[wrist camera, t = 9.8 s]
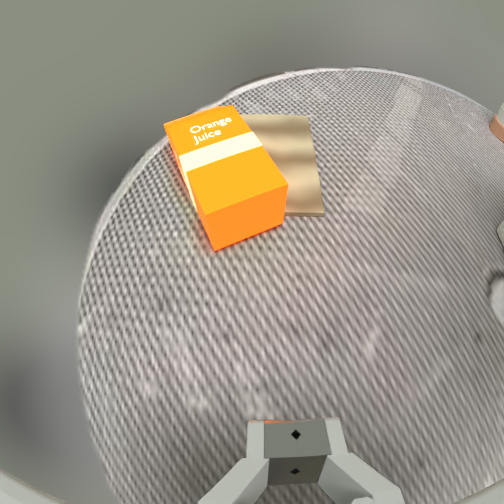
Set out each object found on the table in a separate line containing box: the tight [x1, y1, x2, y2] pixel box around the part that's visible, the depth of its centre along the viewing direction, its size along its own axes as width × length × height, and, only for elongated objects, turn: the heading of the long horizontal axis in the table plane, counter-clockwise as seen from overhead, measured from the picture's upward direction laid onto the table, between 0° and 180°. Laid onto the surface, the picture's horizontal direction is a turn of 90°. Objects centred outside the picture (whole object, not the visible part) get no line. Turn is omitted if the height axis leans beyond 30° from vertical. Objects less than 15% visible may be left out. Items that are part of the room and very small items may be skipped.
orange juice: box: [164, 105, 288, 251], centre depth 36 cm, size 8×9×20 cm
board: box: [240, 114, 324, 217], centre depth 42 cm, size 20×14×1 cm
